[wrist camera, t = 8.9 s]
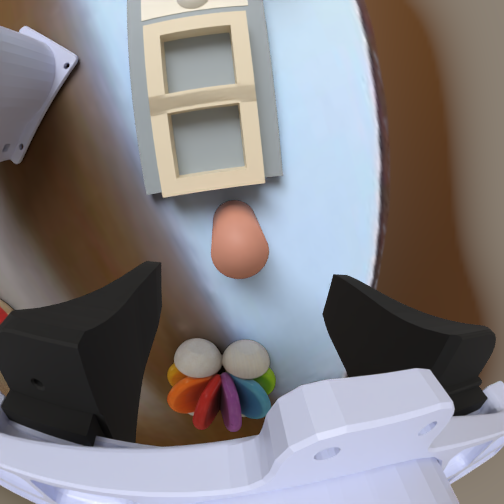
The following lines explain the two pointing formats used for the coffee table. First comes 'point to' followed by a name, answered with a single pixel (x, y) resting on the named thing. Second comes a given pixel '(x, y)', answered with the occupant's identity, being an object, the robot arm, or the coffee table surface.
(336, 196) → the coffee table surface
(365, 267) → the coffee table surface
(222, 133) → the board
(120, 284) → the robot arm
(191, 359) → the rainbow fan toy
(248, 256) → the peg
